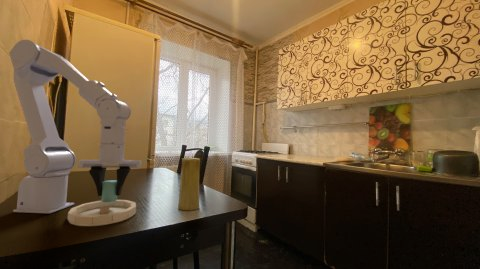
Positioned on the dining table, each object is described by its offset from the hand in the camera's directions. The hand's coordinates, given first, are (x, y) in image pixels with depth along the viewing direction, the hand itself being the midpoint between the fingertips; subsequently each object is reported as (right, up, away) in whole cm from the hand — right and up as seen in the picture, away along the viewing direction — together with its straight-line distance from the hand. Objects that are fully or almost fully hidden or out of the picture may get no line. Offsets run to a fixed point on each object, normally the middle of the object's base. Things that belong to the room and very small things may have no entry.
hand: (109, 194), depth 56 cm
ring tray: (+1, -4, -3) cm, 5 cm away
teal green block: (0, -1, 0) cm, 1 cm away
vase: (+20, -6, +5) cm, 21 cm away
